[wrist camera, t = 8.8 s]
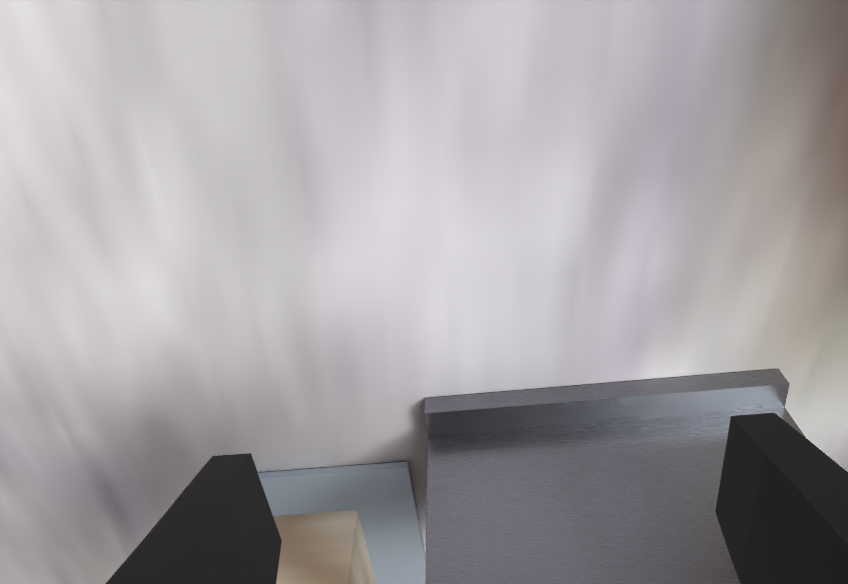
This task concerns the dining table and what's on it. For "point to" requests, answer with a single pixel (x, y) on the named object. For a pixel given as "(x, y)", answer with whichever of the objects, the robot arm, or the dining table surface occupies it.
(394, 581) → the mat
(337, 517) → the block
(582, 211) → the dining table surface
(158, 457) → the dining table surface
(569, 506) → the rack
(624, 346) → the dining table surface
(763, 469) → the robot arm
